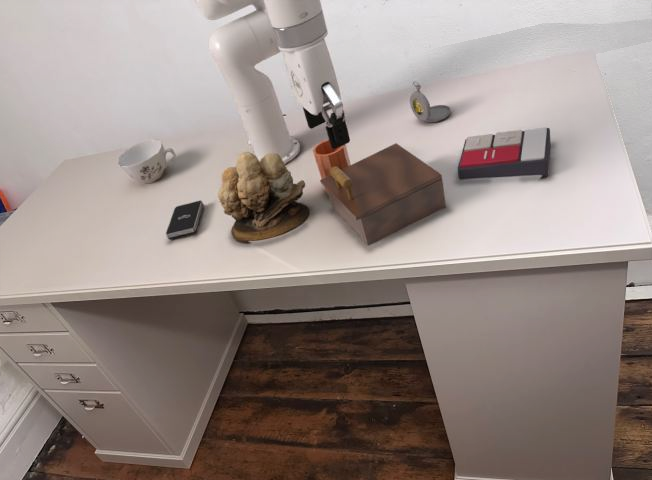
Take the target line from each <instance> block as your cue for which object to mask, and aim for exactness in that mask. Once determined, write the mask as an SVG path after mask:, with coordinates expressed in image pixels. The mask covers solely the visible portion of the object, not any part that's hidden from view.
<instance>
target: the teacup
mask: <svg viewBox="0 0 652 480" xmlns="http://www.w3.org/2000/svg"><path fill="white" fill-rule="evenodd" d="M167 153H170V154H172V158H171V159H170V160H169V161H168V162H167ZM175 160H176V153H175V150H174V149H173V148H172V147H166V148H164V145H163V143H162V142H161V141H159V140H158V139H148V140H144V141H141V142H138V143H137V144H135V145H133V146H132V147H130V148H128V149H126V150H125V151H124V152H123V153H122V154H120V156H119V157H118V160H117V161H118V162H117V163H118V166H119V167H120V168H121V170H122V171H123V172H124V173H126V175H128V176H129V177H130V178H132V179H134V180H135V181H138V182H141V183H144V184H152V183H154V182H156V181H158V180H159V179H161V178H162V176H163V174H164V172H165V169H166V168H167V167H169V166H170V165H171V164H174V162H175Z"/></svg>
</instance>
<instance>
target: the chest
mask: <svg viewBox="0 0 652 480" xmlns="http://www.w3.org/2000/svg"><path fill="white" fill-rule="evenodd" d="M327 191H328V190H327ZM327 194H328V198H329V200H330V203H331V206H332V208H333V209H334V211H335V212H336V213H337V214H338V215H339V216H340V217H341V218H342V219H343V220H344V222H346V224H347V225H348V226H349V227H350V228H351V229H352V230H353V231H354V233H356V235H357V236H358V237H359V238H360V239H361V240H362V241H363V242H364V243H365V244H366V245H367V246H371V245H373V244H375V243H377V242H379V241H381V240H383V239H385V238H387V237H388V236H392V234H394V233H397V232H399V231H401V230H403V229H405V228H407V227H410V226H411V225H413V224H415V223H417V222H419V221H421V220H423V219H425V218H428V217H429V216H431V215H433V214H435V213H437V212H439V211H441V210H443V209H445V208H446V207H447V204H446V203H447V202H446V198H445V189H444V181H443V177H442V178H441V179H439V180H437V181H435V182H433V183H431V184H429V185H427V186H425V187H423V188H421V189H419V190H417V191H415V192H413V193H411V194H409V195H407V196H405V197H403V198H401V199H399V200H397V201H395V202H393V203H391V204H389V205H387V206H385V207H383V208H381V209H379V210H377V211H375V212H373V213H371V214H369V215H367V216H365V217H363V218H361V219H359V220H356V219H355V218H354V217H353V216H352V215H351V214H350V213H349V212H348V211H347V210H346V209H345V208H344V207H343V206H342V205H341V204H340V202H339V201H338V200H337V199H336V198H335V197H334V196H333V195H332V194H331V193H330V192H329V191H328V193H327Z"/></svg>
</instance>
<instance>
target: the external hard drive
mask: <svg viewBox="0 0 652 480" xmlns="http://www.w3.org/2000/svg"><path fill="white" fill-rule="evenodd" d="M204 208H205V204H204V202H203V201H202V200H201V199H199V200H196V201H192V202H188V203H184V204H180V205H176V206H175V207H174V208H173V210H172V211H173V212H172V214H171V217H170V220H169V223H168V225H167V229H166V231H165V235H166V237H167V239H168V240H170V241H172V240H176V239H182V238H185V237H190V236H194V235H197V233H198V230H199V227H200V223H201V220H202V216H203V212H204Z"/></svg>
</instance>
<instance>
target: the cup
mask: <svg viewBox="0 0 652 480" xmlns="http://www.w3.org/2000/svg"><path fill="white" fill-rule="evenodd" d="M312 153H313V158H314V159H315V163H316V167H317V169H318V173H319V176H320V180H321V179H323V178H325V177H328V176H330V175H331V174H330V169H331V168H332V167H334V166H336V167H338V168H339V169H340V170H342V169H344V168H346V167H348V166H350V165H352V164H351V161H350V156H349V152H348V149H347V144H345V145H343V146H341V147H339V148H337V149H332V148H331V146H330V142H329V138H328V139H325V140H322V141H320V142H319V143H317V144H316V145H315V146H314V147H313V149H312ZM323 189H324V191H325V193H326V194H328V191H327V189H326V188H325V187H324V186H323Z"/></svg>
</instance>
